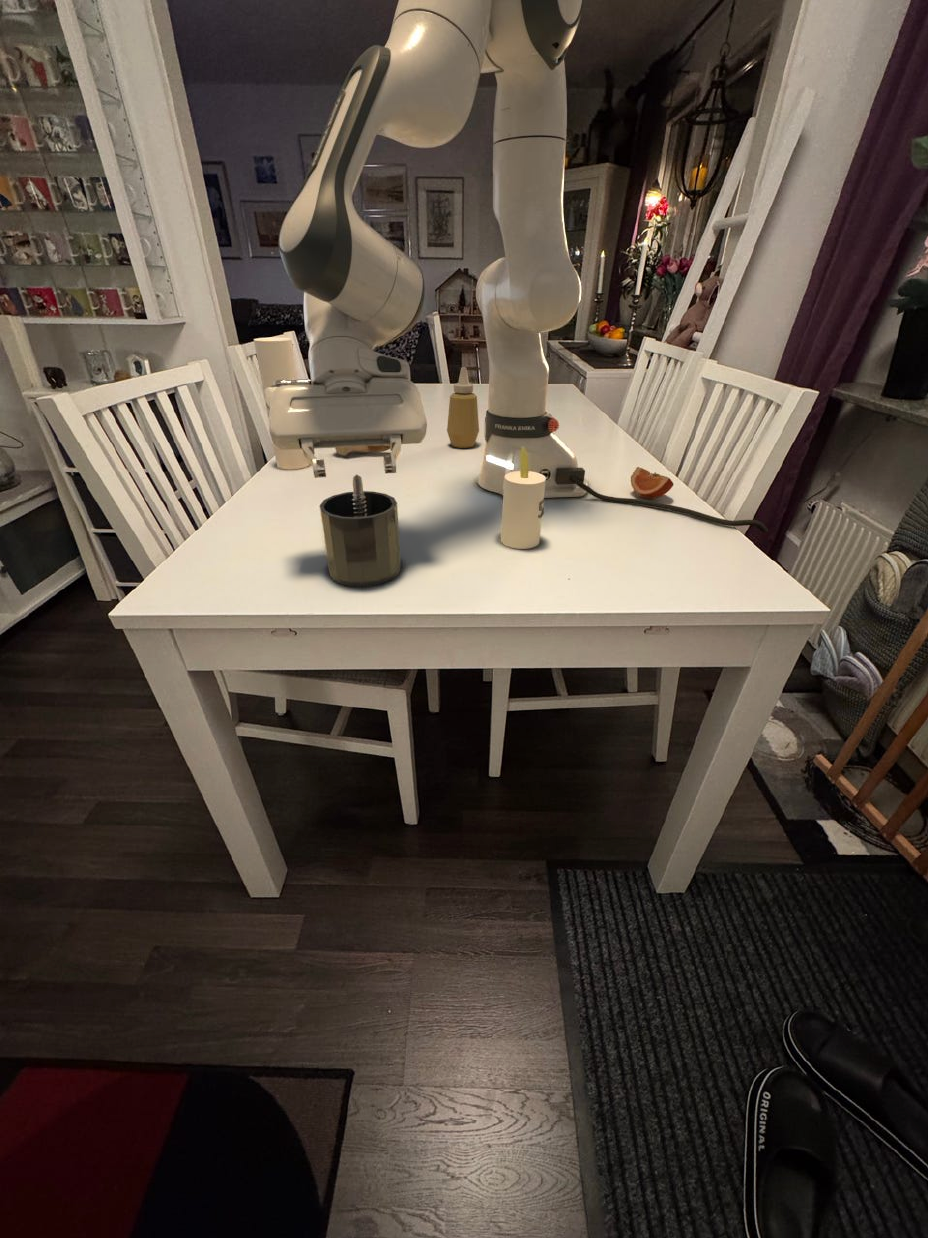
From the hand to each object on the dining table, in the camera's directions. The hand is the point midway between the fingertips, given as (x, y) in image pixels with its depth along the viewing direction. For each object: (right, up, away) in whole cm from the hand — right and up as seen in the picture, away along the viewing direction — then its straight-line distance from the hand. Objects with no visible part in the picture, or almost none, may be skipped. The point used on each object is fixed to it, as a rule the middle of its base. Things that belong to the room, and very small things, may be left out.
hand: (355, 473), depth 67 cm
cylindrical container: (-24, +16, +50) cm, 58 cm away
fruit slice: (+51, +5, +35) cm, 62 cm away
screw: (0, -11, +8) cm, 14 cm away
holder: (0, -12, +8) cm, 14 cm away
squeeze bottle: (+14, +25, +65) cm, 71 cm away
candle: (+23, -6, +17) cm, 30 cm away
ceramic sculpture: (-11, +21, +58) cm, 63 cm away
